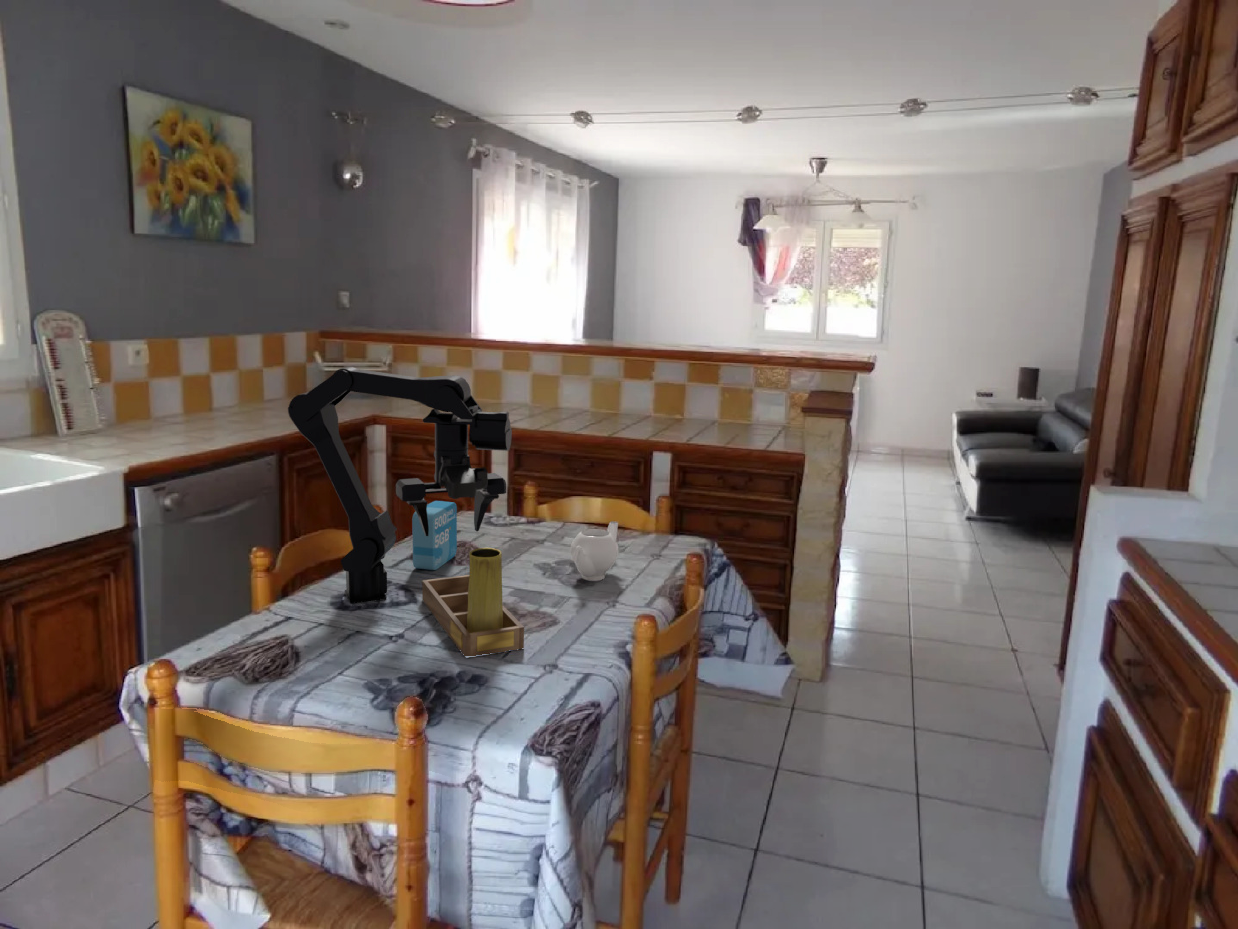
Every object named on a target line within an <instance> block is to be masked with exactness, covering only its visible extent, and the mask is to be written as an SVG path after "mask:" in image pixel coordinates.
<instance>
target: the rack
mask: <svg viewBox="0 0 1238 929" xmlns="http://www.w3.org/2000/svg"><path fill="white" fill-rule="evenodd" d="M421 583H422V588H421V589H422V593H421V594H422V597H421V600H422V602H423V603H424V604H425V606H426V607H427V608H428V610H429V611H430V612H431V614H432V615H433V616H434V618H435V619H436V620H437V622H438V623H439V624H440V626H441V627H442V629H443V630H444V632H445V633H446V635H447V636H448V637H449V638H450V639H451V641H452V642H453V644H454V645H455V644H456V645H455V646H456V648H457V647H458V648H457V649H458V650H459V651H460V650H461V652H462V653H463V654H464V656H476V655H482V654H490V653H498V652H504V653H506V652H505V651H509V650H517V649H522V648H524V649H525V626H524V625H523V624H522V623H521V622H520V621H519V620H518V619H517V618H516V617H515V616H514V615H513V613H511V612H510V611H509V610H508V608H507V607H506V606H504V604H502V609H503V628H501V629H495V630H488V631H481V632H475V633H469V632H468V631H467V612H468V587H469V574H465V575H456V576H455V575H454V576H448V577H441V578H440V577H439V578H432V579H423V580H422V582H421ZM517 651H518V650H517ZM461 652H460V653H461ZM462 653H461V654H462ZM463 654H462V655H463ZM498 654H499V653H498ZM464 656H463V657H464Z"/></svg>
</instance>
